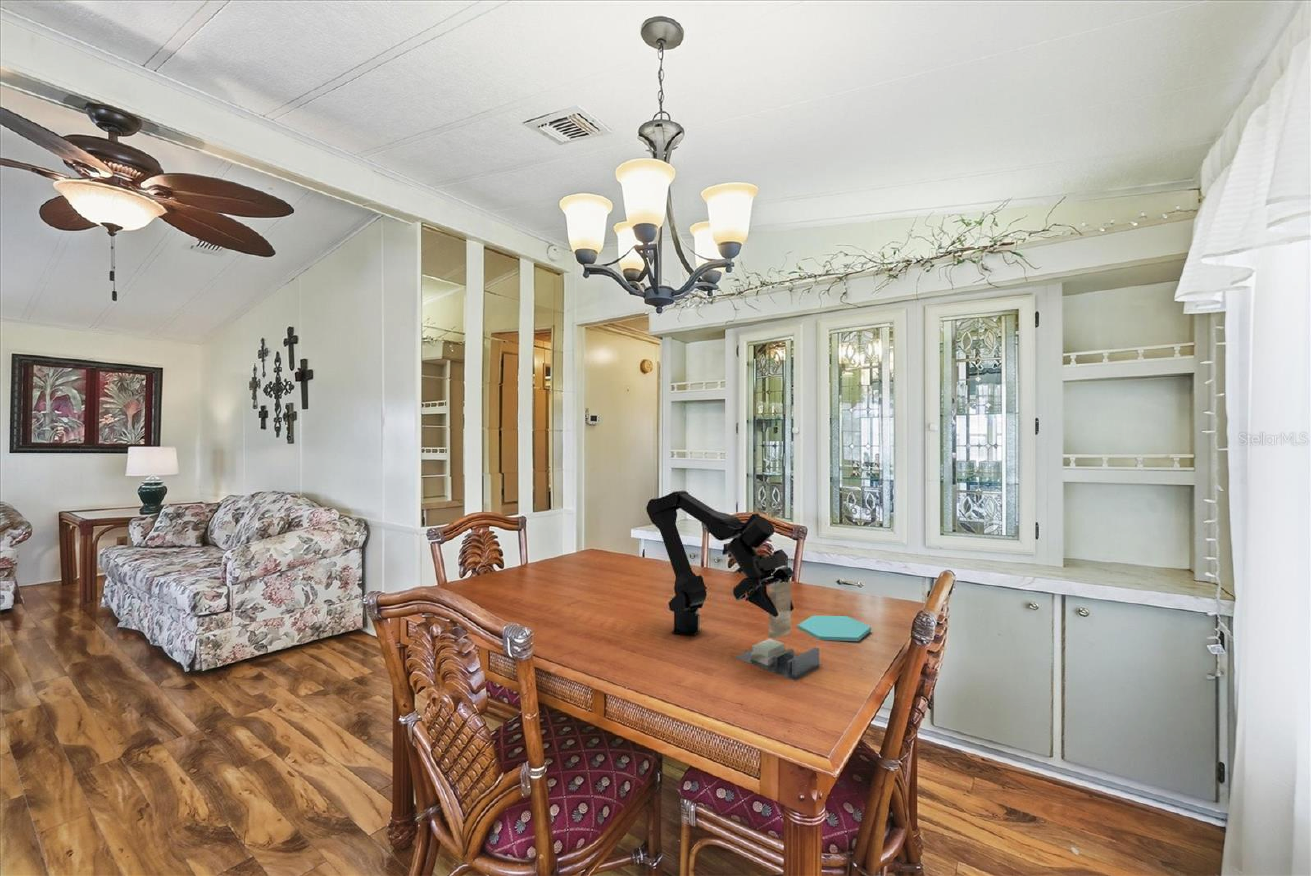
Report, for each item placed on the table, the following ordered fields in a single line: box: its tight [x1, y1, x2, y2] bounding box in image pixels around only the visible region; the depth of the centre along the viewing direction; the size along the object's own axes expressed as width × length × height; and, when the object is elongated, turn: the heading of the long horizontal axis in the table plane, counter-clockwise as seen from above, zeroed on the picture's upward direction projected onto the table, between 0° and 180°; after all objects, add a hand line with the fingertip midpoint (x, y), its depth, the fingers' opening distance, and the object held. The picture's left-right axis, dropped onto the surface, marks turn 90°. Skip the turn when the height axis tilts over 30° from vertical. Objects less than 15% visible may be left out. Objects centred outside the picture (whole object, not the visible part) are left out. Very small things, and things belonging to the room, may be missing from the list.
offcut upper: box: [752, 637, 786, 657], centre depth 131 cm, size 4×7×2 cm, turn 133°
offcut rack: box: [734, 647, 824, 681], centre depth 129 cm, size 17×12×5 cm
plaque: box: [797, 615, 872, 642], centre depth 153 cm, size 18×2×20 cm
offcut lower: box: [751, 649, 787, 666], centre depth 131 cm, size 5×8×2 cm, turn 133°
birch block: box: [768, 582, 792, 640], centre depth 128 cm, size 2×6×12 cm, turn 133°
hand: (784, 613), depth 127 cm, fingers closed on birch block, 6 cm apart
